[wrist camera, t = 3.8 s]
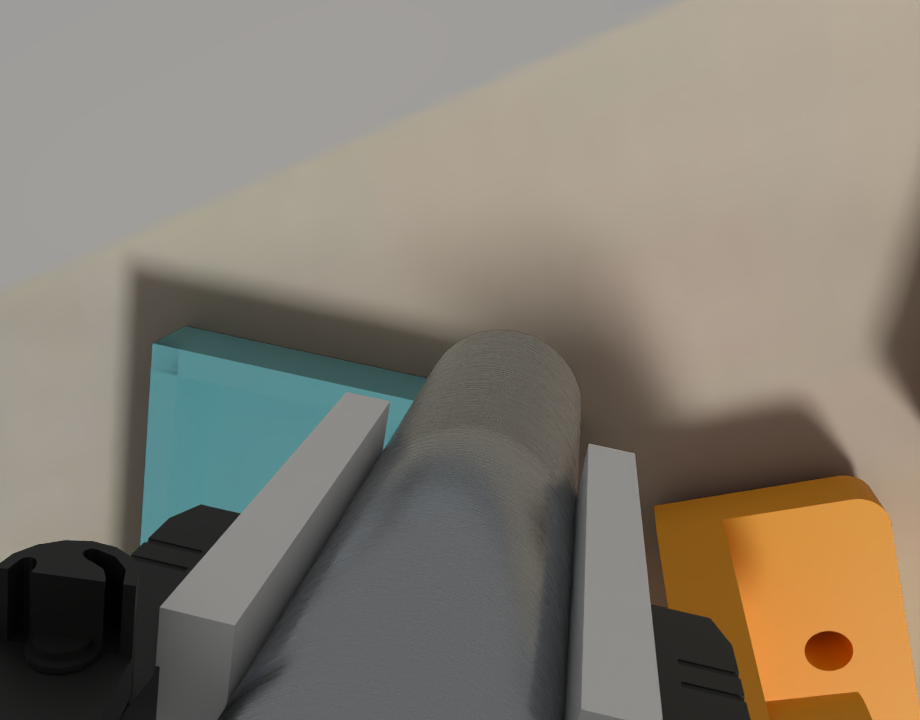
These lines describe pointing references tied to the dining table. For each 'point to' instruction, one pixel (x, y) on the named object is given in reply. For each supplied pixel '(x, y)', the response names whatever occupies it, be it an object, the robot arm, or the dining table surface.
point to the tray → (241, 416)
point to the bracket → (797, 596)
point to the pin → (443, 558)
